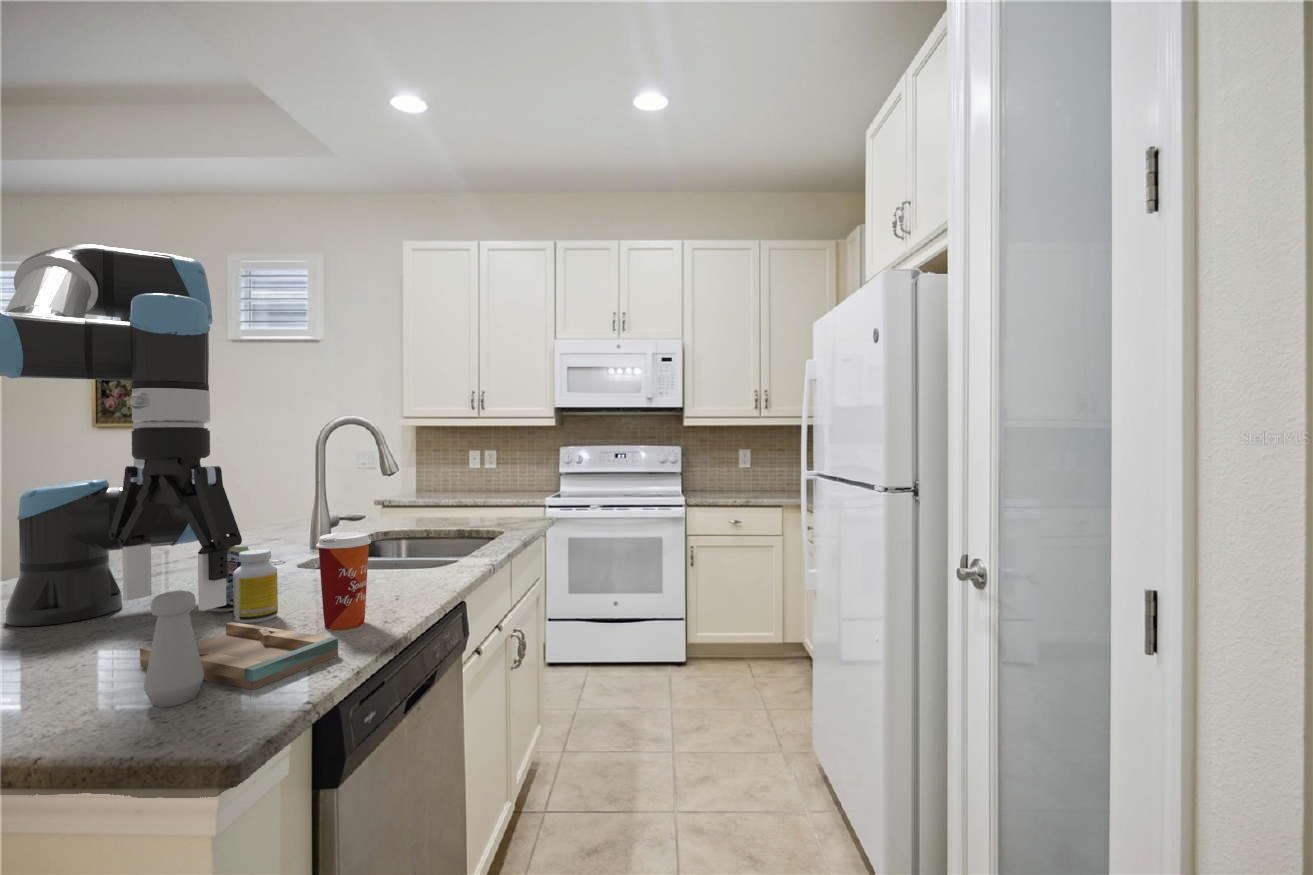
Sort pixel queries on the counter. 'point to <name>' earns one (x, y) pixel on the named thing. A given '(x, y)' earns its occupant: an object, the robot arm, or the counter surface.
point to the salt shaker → (173, 652)
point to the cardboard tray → (257, 654)
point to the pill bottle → (255, 587)
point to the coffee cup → (343, 578)
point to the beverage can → (231, 576)
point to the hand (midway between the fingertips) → (173, 603)
